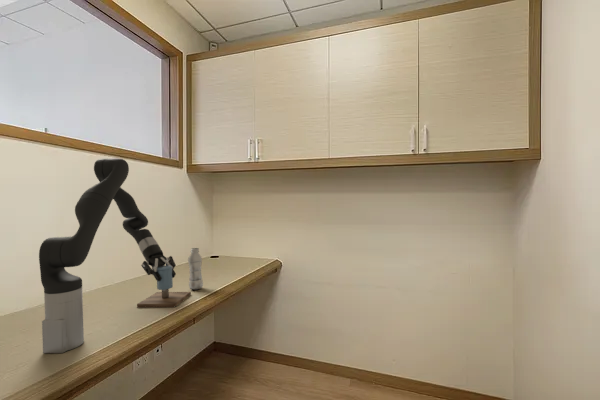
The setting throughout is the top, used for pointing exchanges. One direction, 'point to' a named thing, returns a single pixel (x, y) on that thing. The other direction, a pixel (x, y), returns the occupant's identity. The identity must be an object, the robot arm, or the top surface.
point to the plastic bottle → (195, 269)
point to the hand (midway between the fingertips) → (167, 278)
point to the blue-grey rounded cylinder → (165, 277)
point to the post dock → (164, 299)
